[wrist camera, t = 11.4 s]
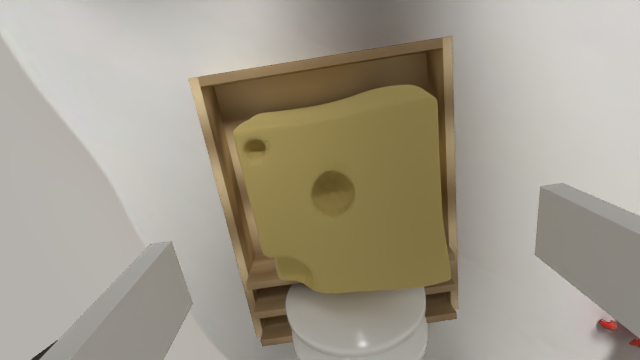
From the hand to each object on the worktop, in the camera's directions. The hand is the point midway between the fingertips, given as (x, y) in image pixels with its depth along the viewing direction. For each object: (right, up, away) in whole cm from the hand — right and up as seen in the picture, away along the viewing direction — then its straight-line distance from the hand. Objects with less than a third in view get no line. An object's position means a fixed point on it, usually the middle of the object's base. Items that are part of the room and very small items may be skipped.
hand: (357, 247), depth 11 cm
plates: (+1, -6, +17) cm, 18 cm away
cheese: (0, +4, +14) cm, 14 cm away
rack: (0, +1, +15) cm, 15 cm away
